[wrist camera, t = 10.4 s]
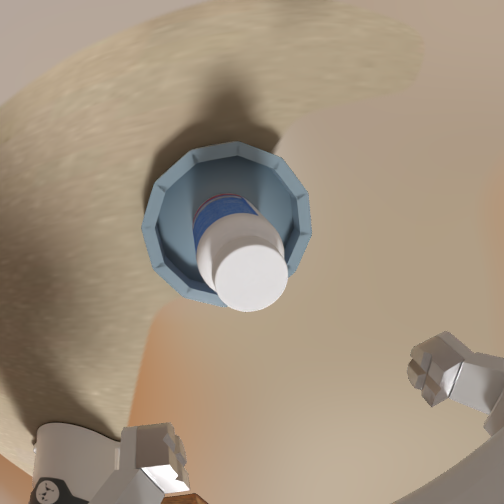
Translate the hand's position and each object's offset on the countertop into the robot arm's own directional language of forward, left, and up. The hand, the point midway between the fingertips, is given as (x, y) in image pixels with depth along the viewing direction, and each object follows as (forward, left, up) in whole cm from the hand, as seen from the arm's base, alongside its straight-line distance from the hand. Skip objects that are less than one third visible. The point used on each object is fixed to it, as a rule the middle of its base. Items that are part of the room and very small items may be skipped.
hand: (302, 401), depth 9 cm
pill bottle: (0, 0, -18) cm, 18 cm away
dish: (0, 0, -19) cm, 19 cm away
